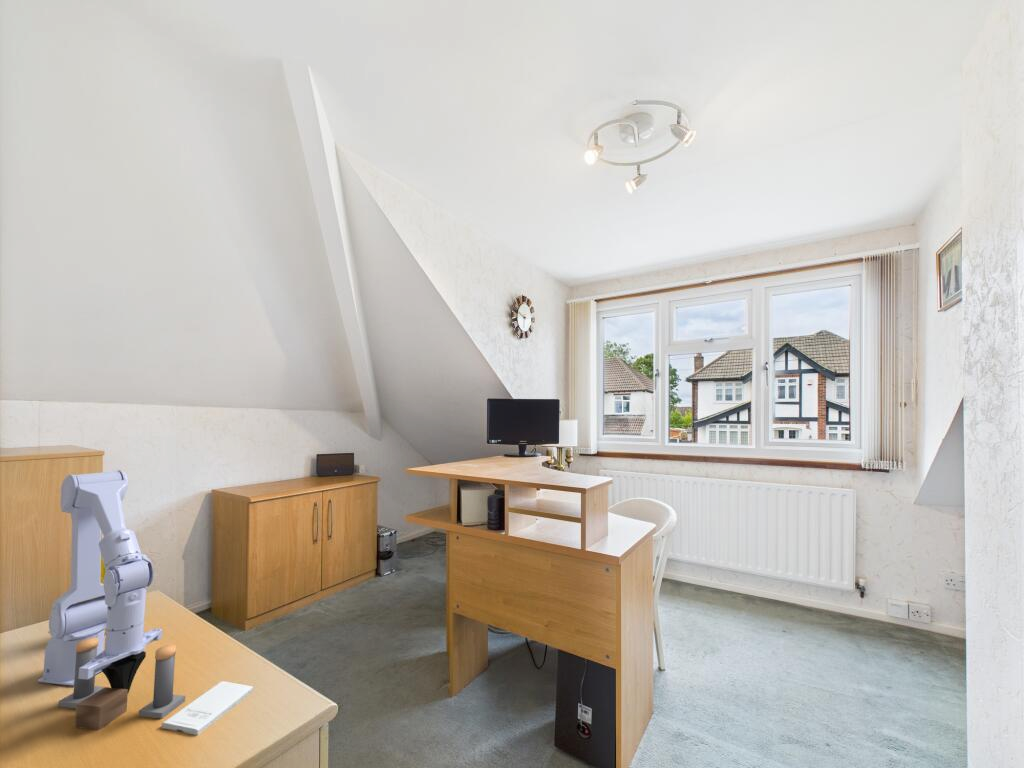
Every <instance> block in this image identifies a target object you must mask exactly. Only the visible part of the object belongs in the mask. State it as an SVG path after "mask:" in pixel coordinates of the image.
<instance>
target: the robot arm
mask: <svg viewBox="0 0 1024 768" xmlns="http://www.w3.org/2000/svg"><path fill="white" fill-rule="evenodd" d="M128 487H129V478H128V475H127V473H126V472H125V471H124V470H122V469H119V470H114V471H113V470H112V471H103V472H94V473H93V472H92V473H81V474H67V476H65V478H64V479H63V481H62V483H61V486H60V508H61V512H62V513H66V514H67V513H68V514H70V517H71V548H70V549H71V552H70V553H71V555H70V556H71V557H70V559H71V560H70V588H68V589H67V591H65V592H64V593H63V594H62V595H61V596H59V597H58V598H56V600H54V601H53V603H52V605H51V610H50V611H51V612H50V615H49V618H48V629H49V631H50V633H49V634H50V636H51V638H50V640H49V641H48V642H47V644H46V647H45V648H44V649H45V651H44V658H43V671H42V673H43V674H42V677H39V679H37V682H38V683H45V684H55V685H63V686H71V687H72V686H73V687H74V678H75V665H76V644H77V643H78V642H80V641H82V640H85V639H88V638H98V646H97V656H96V657H95V658H94V659H92V660H91V661H90V662H88V663H87V664H85V665H84V666H82V667H80V668H79V677H78V679H87V680H88V679H90V678H91V677H93V674H95V675H97V674H99V673H101V672H103V675H105V677H106V679H107V680H108V683H109V685H110V688H119V689H128V694H129V693H130V690H131V686H132V685H133V681H134V679H135V676H136V674H137V672H138V669H139V668H140V666H141V664H142V663H143V661H144V660H145V658H147V657H146V656H147V652H146V647H147V645H149V644H151V643H152V642H156V641H159V640H161V639H162V637H163V629H162V628H153V629H150V630H148V631H146V632H144V631H145V615H146V600H147V599H146V598H147V588H148V587H150V586H151V585H152V583H153V580H154V567H153V562H152V561H151V559H150V558H149V557H148V556H147V555H146V554H145V553H142V551H141V547H140V546H139V541H138V540H137V535H136V533H135V531H133V530H132V529H127V526H126V522H125V521H126V520H125V514H124V509H123V504H122V501H123V500H124V498H125V496H126V493H127V491H128ZM102 535H103V537H102ZM101 556H102V559H103V563H104V566H105V570H106V573H105V575H104V579H103V584H102V583H100V575H101ZM146 587H147V588H146ZM99 596H100V597H99ZM95 597H97V598H95ZM92 598H93V599H92ZM88 599H90V600H88ZM84 600H86V601H84ZM81 601H83V602H81ZM77 602H79V603H77ZM105 628H106V634H105ZM49 631H48V632H49Z"/></svg>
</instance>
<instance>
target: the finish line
mask: <svg viewBox="0 0 1024 768" xmlns="http://www.w3.org/2000/svg"><path fill="white" fill-rule="evenodd" d="M97 646H98V638H88V639H85V640H82V641H80V642H78V643H77V644H76V665H75V678H74V686H73V691H72V693H71V694H69V695H67V696H65V697H64V698H62V699H60V700H58V701H57V702H58V704H57V705H58V708H59V707H60V708H68V709H75V710H76V707H77V704H78V703H80V702H81V701H83V700H85V699H86V698H88V697H90V696H91V695H93V694H95V693H96V692H98V691H100V690H101V689H103V688H105V687H106V686H97V685H96V686H95V683H96V682H95V681H96V674H93V677H91V678H90V679H88V680H87V679H78V677H79V668H80V667H82V666H84V665H85V664H87V663H88V662H90V661H91V660H92V659H94V658H95V657H96V656H97ZM154 653H155V654H154V655H155V656H154V659H155V663H154V666H155V667H154V681H153V683H154V684H153V696H152V701H151V702H149V703H147V704H145V706H143V707H142V708H140V709H139V710H138V716H139V717H143V718H144V717H145V718H152V719H164V717H166V716H167V715H168V714H170V713H172V711H174V710H175V709H176V708H177V707H179V706H181V705H182V704H183V703H184V702H185V701H186V695H181V694H174V682H175V679H174V678H175V664H176V663H175V662H176V653H177V645H176V644H167V645H163V646H161V647H159V648H157V649H156V650H155V652H154Z"/></svg>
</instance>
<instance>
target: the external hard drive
mask: <svg viewBox="0 0 1024 768" xmlns="http://www.w3.org/2000/svg"><path fill="white" fill-rule="evenodd" d="M252 691H253V692H254V687H253V686H251V685H247V684H240V683H235V682H230V681H224V680H221V681H220V682H218V683H217V684H215V685H214V686H212V687H211V688H209V689H208V690H207V691H206V692H205V693H203V694H201V695H200V696H198V697H197V698H196V699H194V700H193V701H191V702H190V703H189V704H187V705H186V706H184V707H183V708H182V709H180V710H178V711H177V712H176V713H174V714H173V715H172V716H171V717H169V718H168V719H165V720H164V721H162V722H161V728H162V729H167V730H171V731H172V730H173V731H180V732H181V731H182V733H186V734H191V735H195V736H199V735H200V734H201V733H203V732H204V731H205V730H206V729H208V728H209V727H210V726H212V725H213V724H214V723H215V722H216V721H218V720H219V719H220V718H221V717H223V716H224V715H225V714H226V713H227V712H229V711H230V710H232V709H233V708H234V707H236V706H237V705H238V704H239V703H240V702H242V701H243V700H244V699H245V698H247V697H249V695H251V694H252V693H253V692H252ZM251 692H252V693H251ZM246 696H247V697H246ZM241 700H242V701H241Z"/></svg>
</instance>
